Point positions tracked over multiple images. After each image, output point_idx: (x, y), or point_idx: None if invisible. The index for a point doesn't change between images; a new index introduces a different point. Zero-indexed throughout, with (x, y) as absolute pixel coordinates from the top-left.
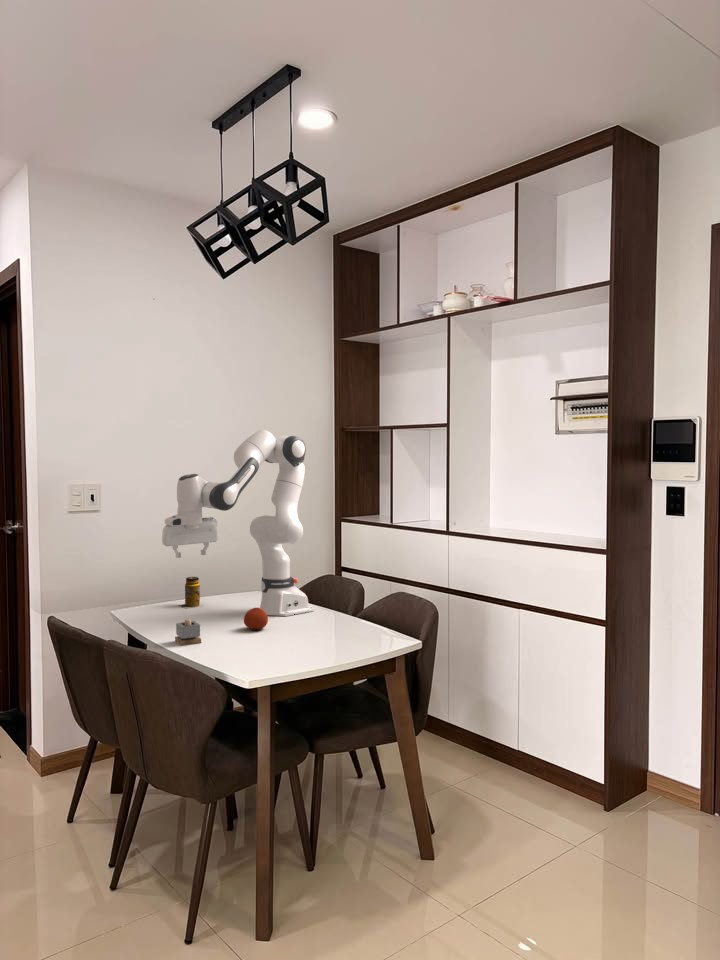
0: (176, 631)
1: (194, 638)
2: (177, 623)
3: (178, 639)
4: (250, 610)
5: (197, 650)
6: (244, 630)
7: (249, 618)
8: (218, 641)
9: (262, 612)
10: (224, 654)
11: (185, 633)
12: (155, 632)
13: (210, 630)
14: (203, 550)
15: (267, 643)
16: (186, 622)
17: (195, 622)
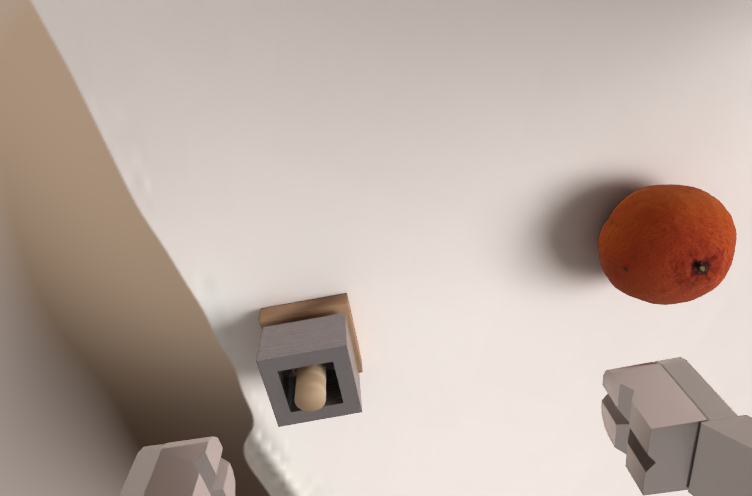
0: (262, 338)
1: None
2: (262, 371)
3: None
4: (665, 269)
5: (335, 434)
6: (582, 230)
7: (623, 288)
8: (429, 356)
9: (705, 293)
10: (411, 484)
11: None
12: (161, 132)
13: (439, 182)
14: (672, 484)
15: (579, 416)
16: (302, 405)
17: (348, 373)
